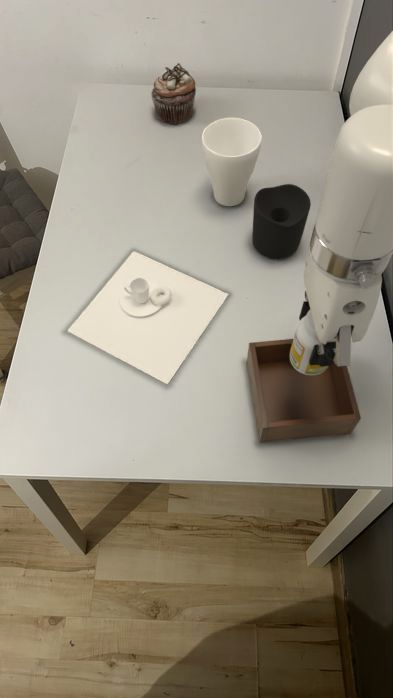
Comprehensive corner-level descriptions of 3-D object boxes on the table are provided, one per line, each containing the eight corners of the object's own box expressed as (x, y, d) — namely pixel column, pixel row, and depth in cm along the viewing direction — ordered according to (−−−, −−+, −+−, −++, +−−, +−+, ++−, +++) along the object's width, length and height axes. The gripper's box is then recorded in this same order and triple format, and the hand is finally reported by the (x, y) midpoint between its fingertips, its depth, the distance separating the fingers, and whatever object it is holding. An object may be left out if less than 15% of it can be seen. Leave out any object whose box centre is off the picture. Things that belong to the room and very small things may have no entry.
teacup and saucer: (177, 293, 87) (176, 279, 84) (152, 327, 84) (150, 313, 80) (136, 274, 89) (132, 259, 86) (110, 306, 86) (106, 292, 83)
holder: (330, 354, 80) (338, 334, 75) (350, 434, 74) (361, 418, 68) (246, 361, 80) (249, 342, 75) (259, 442, 74) (263, 428, 68)
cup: (264, 205, 97) (272, 147, 85) (215, 221, 95) (215, 163, 84) (242, 171, 102) (246, 111, 90) (194, 185, 100) (192, 126, 88)
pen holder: (288, 269, 89) (296, 230, 80) (241, 250, 92) (244, 210, 83) (309, 234, 93) (319, 193, 84) (263, 217, 96) (268, 175, 87)
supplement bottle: (336, 352, 67) (354, 312, 58) (319, 383, 65) (335, 346, 56) (300, 334, 68) (312, 293, 60) (281, 364, 66) (292, 325, 58)
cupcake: (177, 94, 115) (175, 50, 106) (204, 114, 111) (204, 70, 102) (144, 111, 112) (139, 67, 103) (171, 132, 108) (167, 89, 100)
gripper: (419, 315, 43) (363, 400, 58) (367, 175, 51) (330, 283, 67) (332, 322, 42) (299, 406, 58) (295, 181, 51) (275, 288, 67)
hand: (316, 339), depth 62 cm, fingers closed on supplement bottle, 5 cm apart
